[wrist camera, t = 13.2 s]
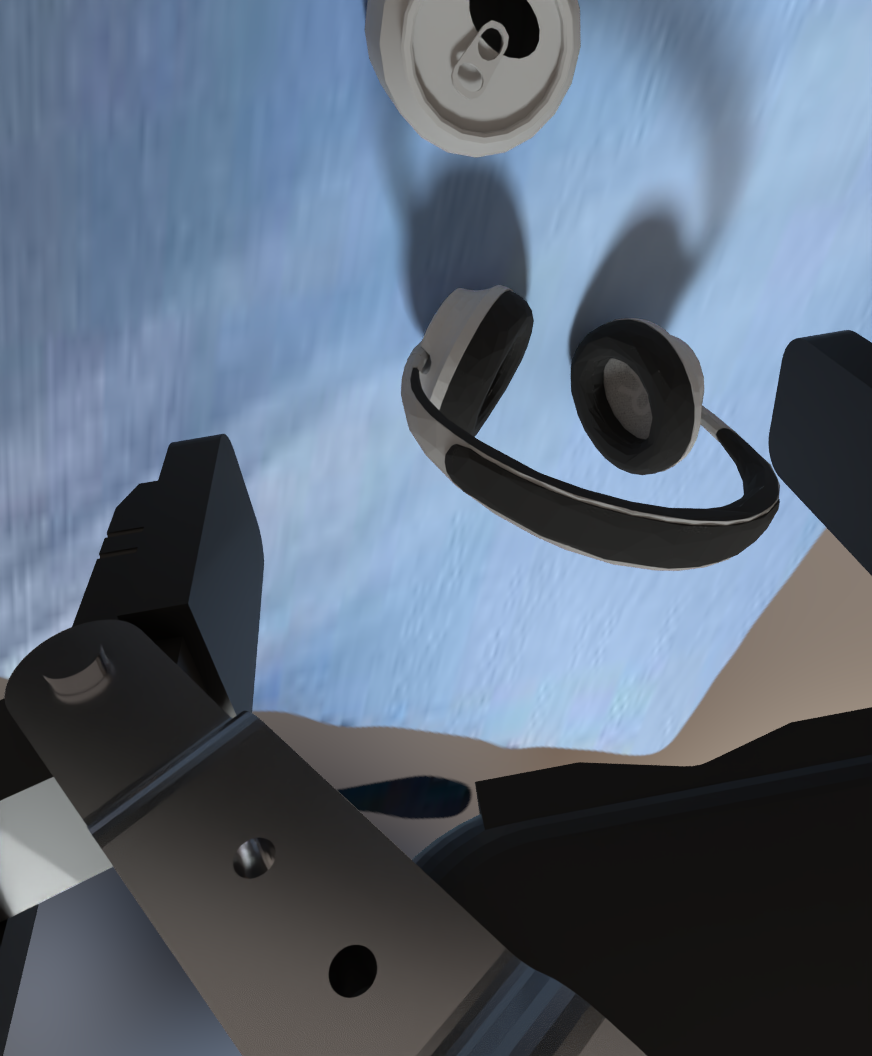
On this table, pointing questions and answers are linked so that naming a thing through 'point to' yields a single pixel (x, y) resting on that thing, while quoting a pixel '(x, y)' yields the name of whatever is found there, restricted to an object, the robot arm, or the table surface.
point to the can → (474, 67)
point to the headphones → (608, 419)
